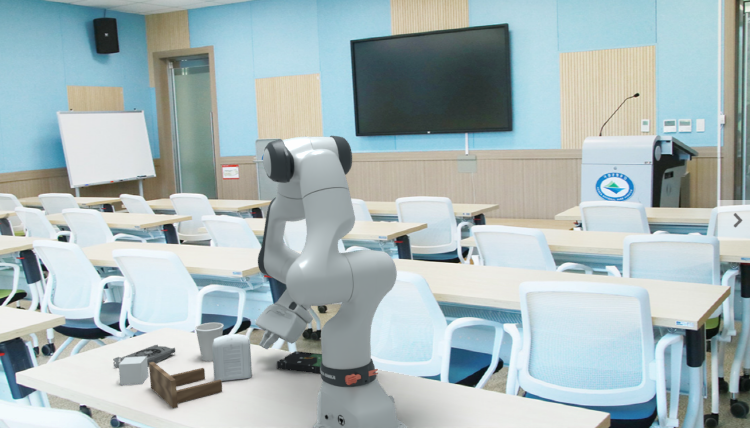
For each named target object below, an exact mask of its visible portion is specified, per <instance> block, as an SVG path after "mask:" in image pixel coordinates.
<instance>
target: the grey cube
mask: <svg viewBox="0 0 750 428" xmlns="http://www.w3.org/2000/svg"><path fill="white" fill-rule="evenodd" d="M118 374H119V385H120V386H132V385H133V386H134V385H143V384H144V383H145V381H146V380H147V379H149V367H148V364H147V356H142V357H125V358H124V359H123V360H122V361H121V363H120V364H119V368H118Z"/></svg>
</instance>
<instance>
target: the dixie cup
mask: <svg viewBox="0 0 750 428" xmlns="http://www.w3.org/2000/svg"><path fill="white" fill-rule="evenodd" d="M224 326H225V325H224V323H221V322H205V323H202V324H198V325H197V326H196V327H195V332H196V336H197V341H198V347H199V351H200V356H201V360H202V361H203V362H213V350H212V345H213V342H214V339H215V338H218V337H220V336H223V330H224V329H223V328H224Z"/></svg>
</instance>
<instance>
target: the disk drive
mask: <svg viewBox="0 0 750 428" xmlns="http://www.w3.org/2000/svg"><path fill="white" fill-rule="evenodd" d="M276 362H277V363H276V366H277V370H283V371H292V372H300V373H308V374H309V373H310V374H313V375H314V374H315V375H316V374H317V375H321V372H320V367H321V362H322V353H316V352H308V351H300V350H299V351H296V350H295V351H293V352H291V353H290V354H287V355H286V356H284V358H283V359H279V360H277V361H276Z"/></svg>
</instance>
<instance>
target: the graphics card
mask: <svg viewBox="0 0 750 428" xmlns="http://www.w3.org/2000/svg"><path fill="white" fill-rule="evenodd" d="M175 353H176V347H172V348H171V347H168V346H161V345H160V346H159V345H158V344H154V345H152V346H149V347H146V348H143V349H141V350H138V351H136V352H134V353H133V352H132V353H129V354H127V355H125V356H122V357H120V356H117V357H115V358H113V368H114V369H115V368H118V369H119V364H120V363H121V361H122V360H123V359H124V358H125V357H142V356H147V364H148V368H149V363H151V362H154V363H155V364H157V363H158V362H160V361H163V360H165V359H167V358H169V356H172V354H175Z"/></svg>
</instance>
